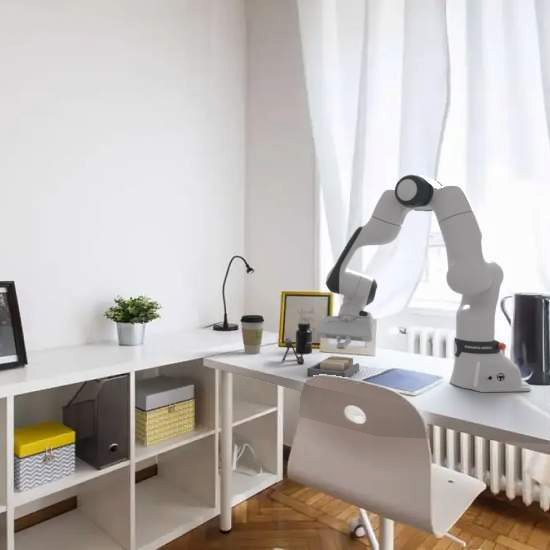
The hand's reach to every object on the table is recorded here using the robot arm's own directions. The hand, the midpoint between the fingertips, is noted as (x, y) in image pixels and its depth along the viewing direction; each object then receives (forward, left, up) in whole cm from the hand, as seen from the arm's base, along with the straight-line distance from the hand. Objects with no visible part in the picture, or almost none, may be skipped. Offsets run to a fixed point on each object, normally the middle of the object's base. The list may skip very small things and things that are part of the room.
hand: (340, 348), depth 171 cm
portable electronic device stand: (+18, -9, -8) cm, 21 cm away
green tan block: (-1, -1, -5) cm, 5 cm away
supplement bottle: (+15, -27, -8) cm, 32 cm away
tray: (+2, +7, -7) cm, 10 cm away
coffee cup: (+36, -24, -8) cm, 44 cm away
